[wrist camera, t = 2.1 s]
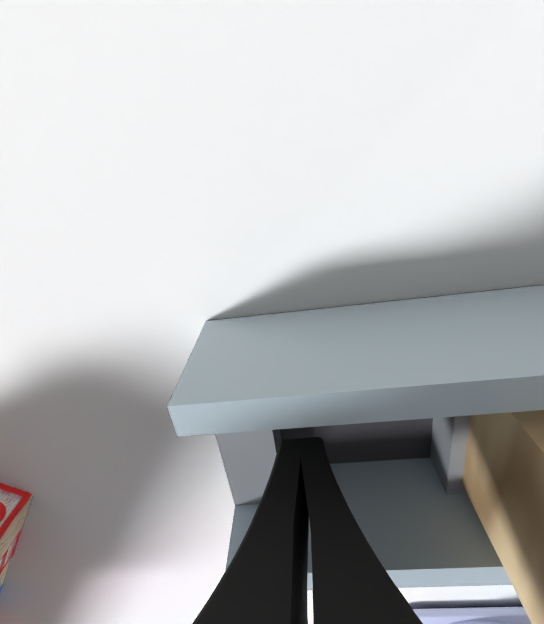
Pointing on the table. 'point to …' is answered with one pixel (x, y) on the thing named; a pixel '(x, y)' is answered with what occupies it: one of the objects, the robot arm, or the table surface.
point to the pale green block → (373, 414)
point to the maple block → (511, 496)
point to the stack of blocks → (11, 522)
